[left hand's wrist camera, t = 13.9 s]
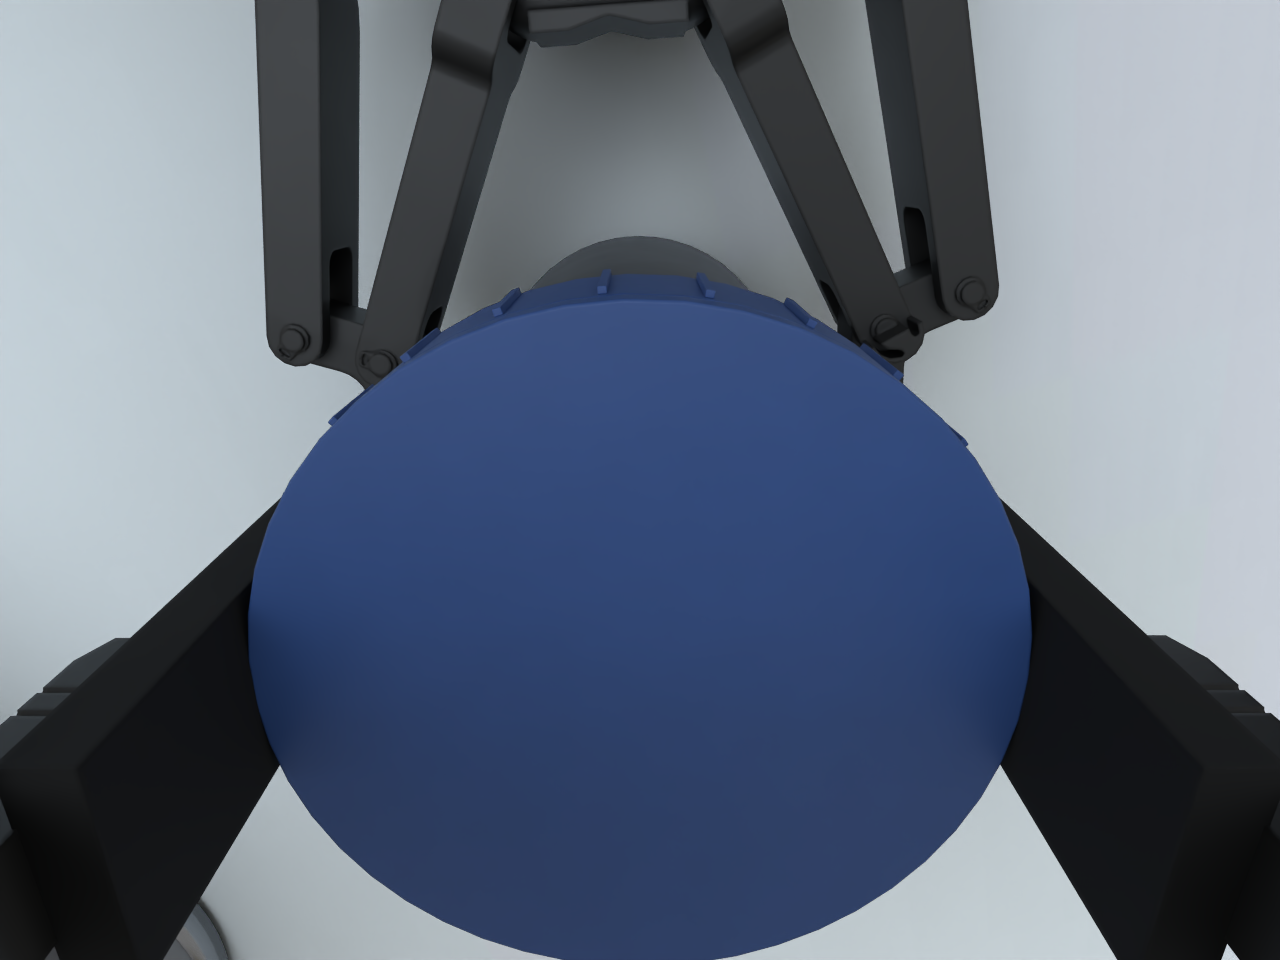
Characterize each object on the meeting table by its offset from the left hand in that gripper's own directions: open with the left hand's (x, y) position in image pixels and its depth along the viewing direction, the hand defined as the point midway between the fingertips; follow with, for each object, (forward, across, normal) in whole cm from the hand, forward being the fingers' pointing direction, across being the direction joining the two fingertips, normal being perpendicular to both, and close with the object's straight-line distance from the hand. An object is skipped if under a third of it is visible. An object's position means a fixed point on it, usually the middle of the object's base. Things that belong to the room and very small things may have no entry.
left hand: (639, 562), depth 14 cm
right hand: (+7, 0, -5) cm, 8 cm away
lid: (-3, 0, 0) cm, 3 cm away
